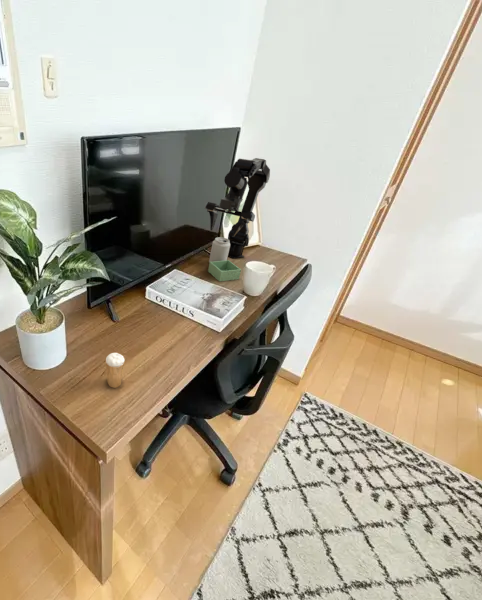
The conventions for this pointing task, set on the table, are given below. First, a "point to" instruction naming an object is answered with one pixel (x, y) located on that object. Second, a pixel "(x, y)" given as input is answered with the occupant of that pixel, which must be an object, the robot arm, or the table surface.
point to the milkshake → (114, 369)
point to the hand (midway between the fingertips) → (221, 233)
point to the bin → (224, 270)
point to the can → (219, 249)
